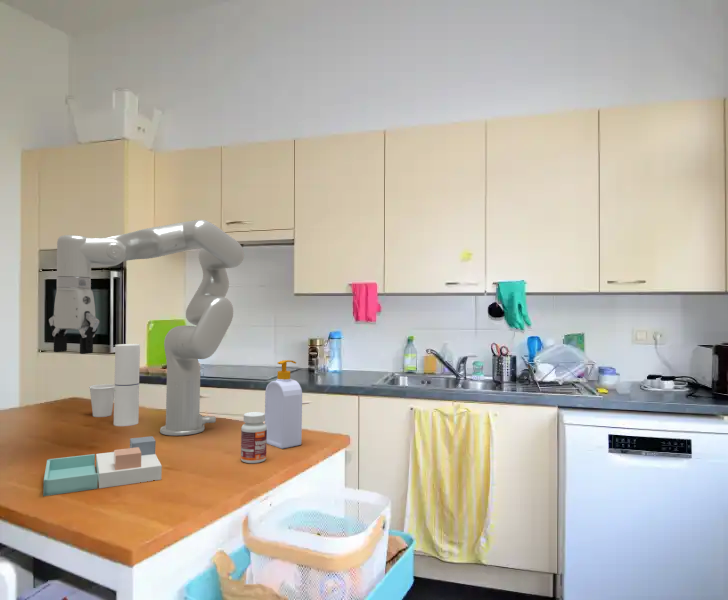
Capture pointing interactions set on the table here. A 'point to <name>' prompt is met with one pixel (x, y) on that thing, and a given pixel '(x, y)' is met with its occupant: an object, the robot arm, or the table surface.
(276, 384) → the soap bottle
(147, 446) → the grey block
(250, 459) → the pill bottle
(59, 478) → the tray
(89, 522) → the table surface
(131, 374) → the cylindrical container
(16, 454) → the table surface
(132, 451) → the salmon pink box
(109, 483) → the white flat block
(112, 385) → the dixie cup
